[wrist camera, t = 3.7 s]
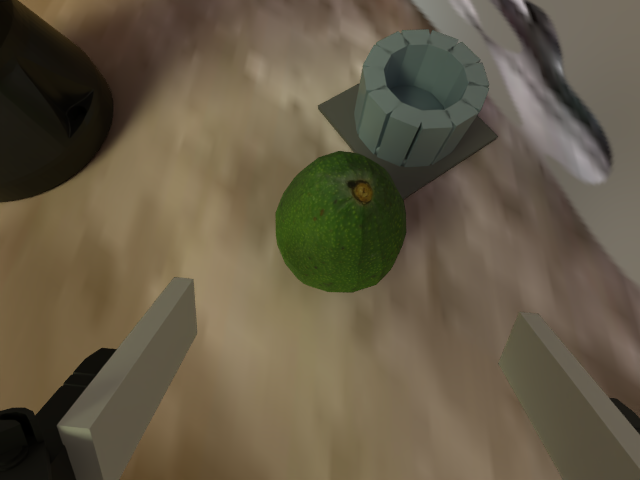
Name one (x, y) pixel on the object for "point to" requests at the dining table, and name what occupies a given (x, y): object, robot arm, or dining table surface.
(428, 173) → the placemat
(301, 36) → the dining table surface
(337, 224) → the avocado
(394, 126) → the bowl
